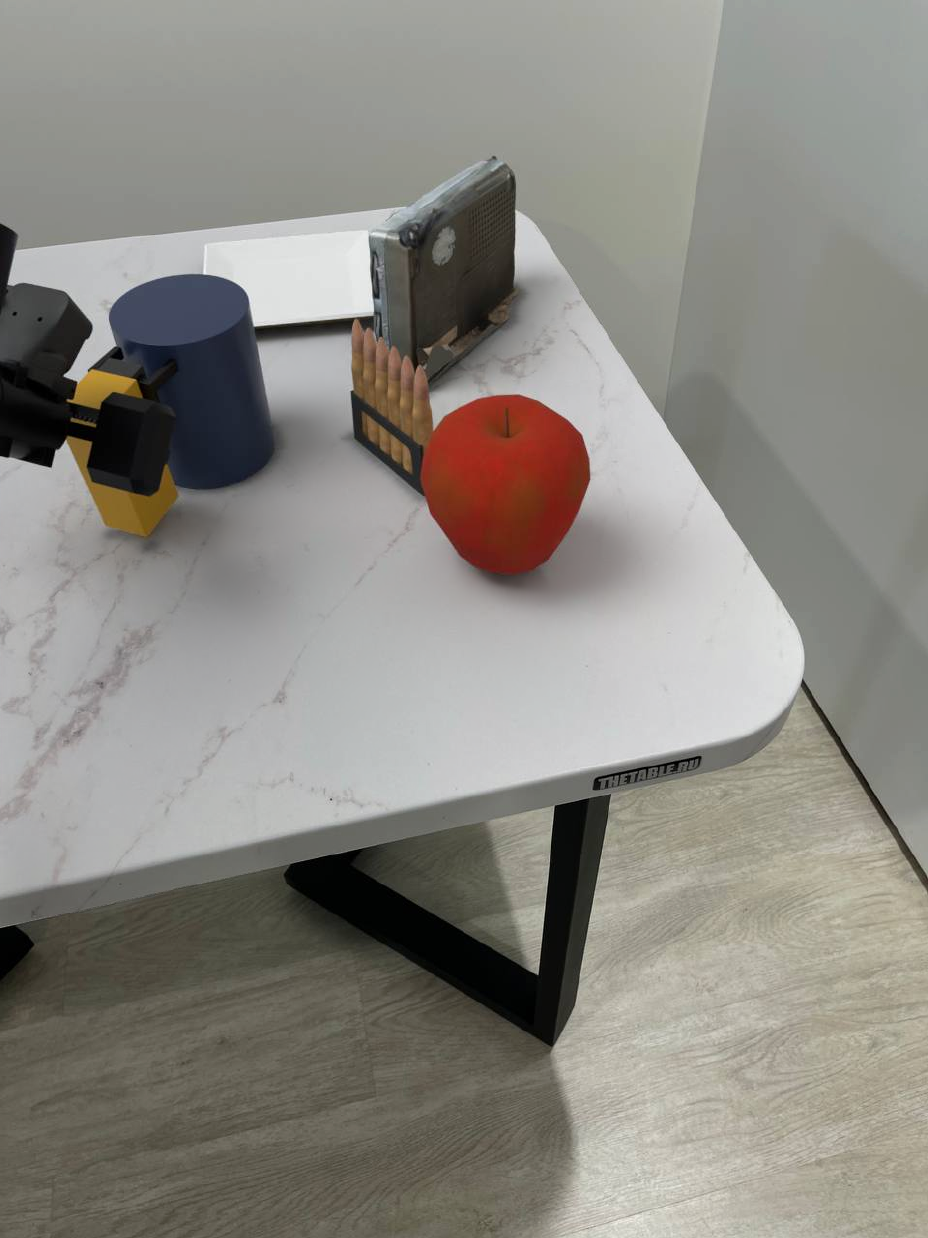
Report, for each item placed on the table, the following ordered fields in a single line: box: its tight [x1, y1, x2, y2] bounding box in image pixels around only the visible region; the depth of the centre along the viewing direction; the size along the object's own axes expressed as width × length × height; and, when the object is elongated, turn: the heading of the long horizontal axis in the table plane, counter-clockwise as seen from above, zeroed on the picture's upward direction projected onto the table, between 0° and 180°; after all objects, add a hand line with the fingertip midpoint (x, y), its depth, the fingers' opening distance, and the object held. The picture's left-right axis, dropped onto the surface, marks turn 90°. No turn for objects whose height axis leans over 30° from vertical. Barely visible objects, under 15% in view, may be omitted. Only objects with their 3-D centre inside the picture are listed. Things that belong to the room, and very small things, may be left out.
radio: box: [369, 155, 519, 386], centre depth 99 cm, size 23×9×15 cm, turn 144°
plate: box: [202, 229, 374, 330], centre depth 109 cm, size 19×19×2 cm
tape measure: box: [65, 358, 180, 538], centre depth 79 cm, size 7×4×12 cm, turn 159°
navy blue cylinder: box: [87, 273, 276, 490], centre depth 85 cm, size 14×11×14 cm
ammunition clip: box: [349, 319, 434, 496], centre depth 85 cm, size 11×2×12 cm, turn 38°
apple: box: [420, 394, 592, 575], centre depth 76 cm, size 12×12×14 cm
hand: (116, 443), depth 78 cm, fingers open, 9 cm apart
